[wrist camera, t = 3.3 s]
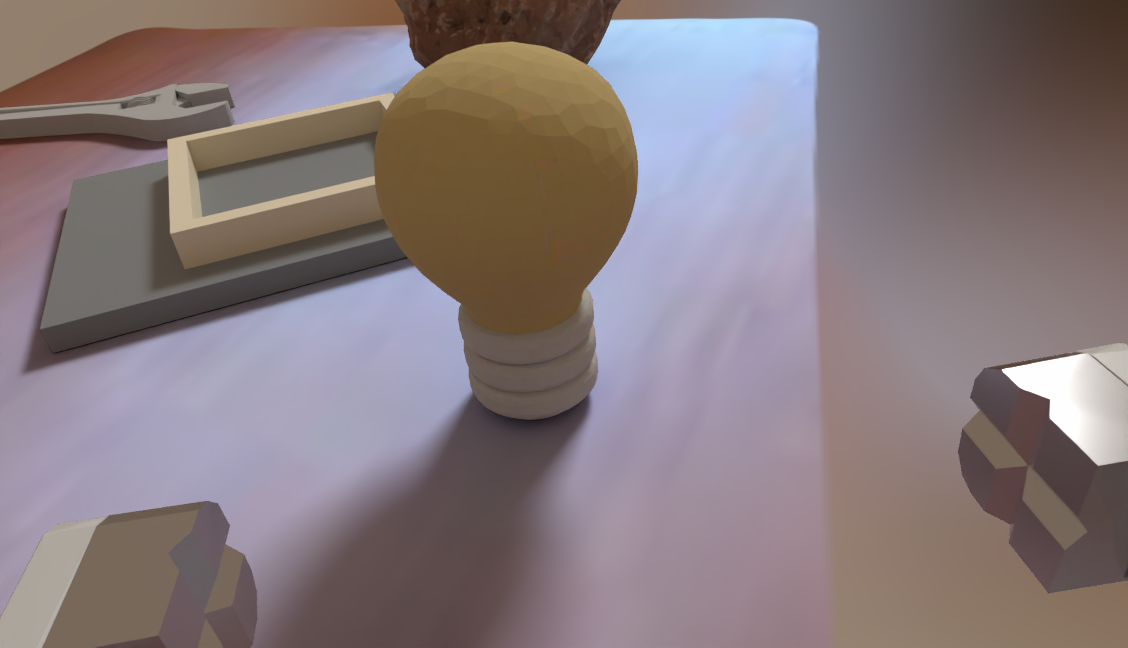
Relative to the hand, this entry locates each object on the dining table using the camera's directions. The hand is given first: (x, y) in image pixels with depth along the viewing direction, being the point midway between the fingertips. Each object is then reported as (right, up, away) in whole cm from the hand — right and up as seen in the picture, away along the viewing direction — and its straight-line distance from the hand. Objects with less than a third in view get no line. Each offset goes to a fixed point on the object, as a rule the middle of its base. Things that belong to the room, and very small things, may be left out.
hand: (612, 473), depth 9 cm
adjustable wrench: (-32, +13, +40) cm, 53 cm away
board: (-12, +7, +27) cm, 30 cm away
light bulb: (-1, 0, +15) cm, 15 cm away
